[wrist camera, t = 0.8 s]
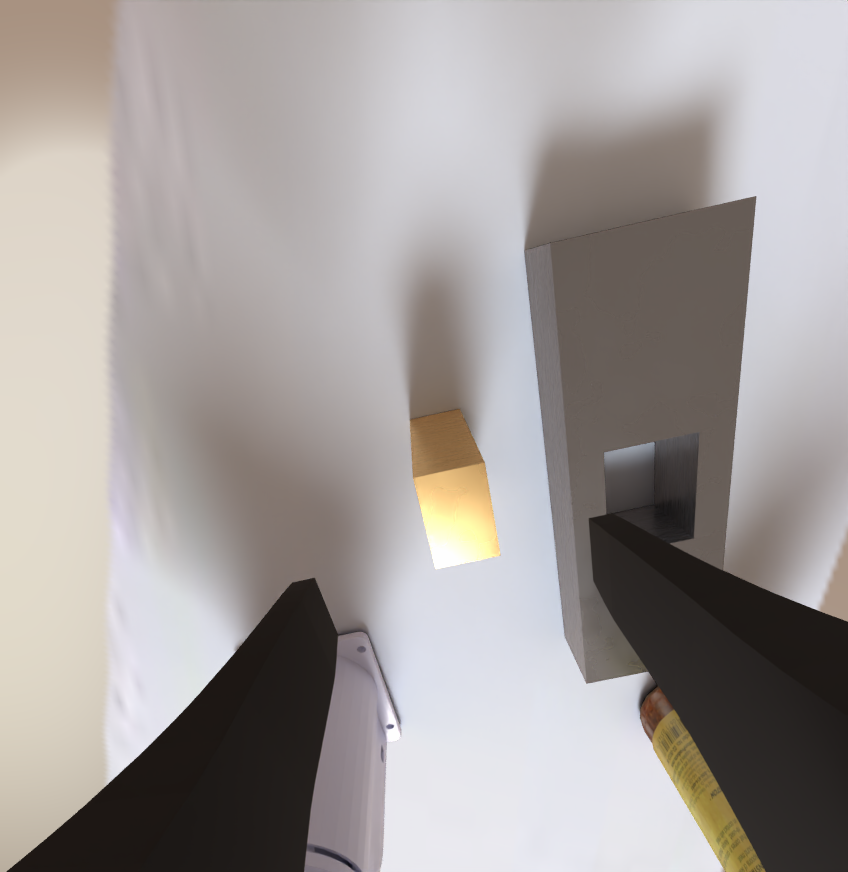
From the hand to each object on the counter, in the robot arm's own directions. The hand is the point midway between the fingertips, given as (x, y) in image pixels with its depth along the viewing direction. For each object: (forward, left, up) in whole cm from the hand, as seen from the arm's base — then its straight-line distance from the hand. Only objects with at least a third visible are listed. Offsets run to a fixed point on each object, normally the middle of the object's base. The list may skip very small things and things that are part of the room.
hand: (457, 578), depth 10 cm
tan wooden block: (0, 0, -9) cm, 9 cm away
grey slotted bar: (-3, -9, -9) cm, 13 cm away
